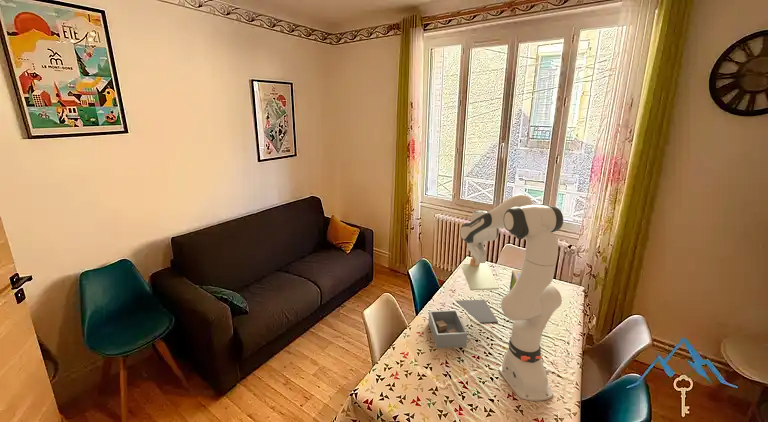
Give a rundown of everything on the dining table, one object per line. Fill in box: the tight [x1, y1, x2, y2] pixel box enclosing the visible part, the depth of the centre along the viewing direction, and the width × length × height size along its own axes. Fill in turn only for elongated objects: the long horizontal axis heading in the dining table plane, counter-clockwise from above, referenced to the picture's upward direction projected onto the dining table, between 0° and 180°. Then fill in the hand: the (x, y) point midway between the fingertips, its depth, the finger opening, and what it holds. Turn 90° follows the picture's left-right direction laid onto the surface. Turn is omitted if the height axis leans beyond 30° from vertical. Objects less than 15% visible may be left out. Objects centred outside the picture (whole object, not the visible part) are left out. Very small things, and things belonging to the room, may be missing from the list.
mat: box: [456, 299, 499, 324], centre depth 183 cm, size 20×16×1 cm
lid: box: [460, 258, 500, 291], centre depth 176 cm, size 19×15×6 cm
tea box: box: [508, 269, 521, 293], centre depth 192 cm, size 15×10×15 cm
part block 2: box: [447, 329, 458, 333], centre depth 160 cm, size 4×4×4 cm
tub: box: [428, 309, 468, 349], centre depth 163 cm, size 18×14×8 cm
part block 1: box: [436, 320, 447, 334], centre depth 166 cm, size 4×4×4 cm
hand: (475, 263), depth 183 cm, fingers closed on lid
